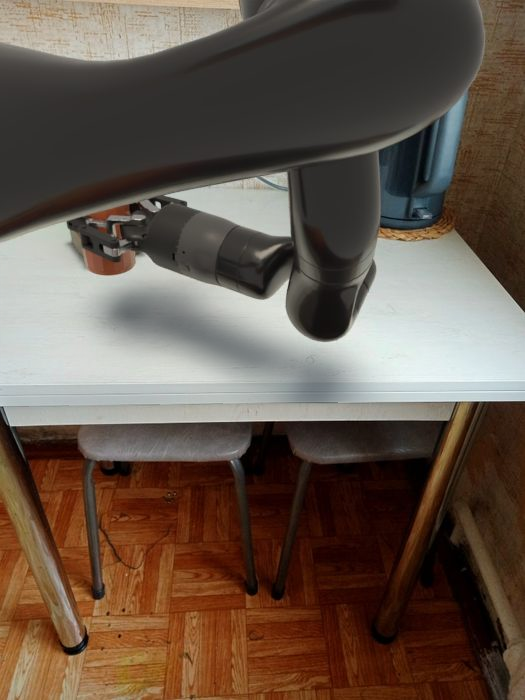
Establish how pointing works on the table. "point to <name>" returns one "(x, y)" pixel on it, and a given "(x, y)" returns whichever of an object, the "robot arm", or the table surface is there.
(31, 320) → the table surface
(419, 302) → the table surface
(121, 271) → the cup
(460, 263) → the table surface
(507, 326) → the table surface
